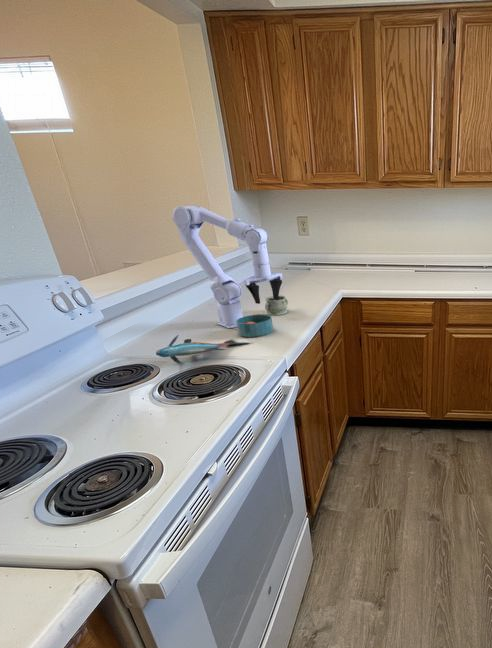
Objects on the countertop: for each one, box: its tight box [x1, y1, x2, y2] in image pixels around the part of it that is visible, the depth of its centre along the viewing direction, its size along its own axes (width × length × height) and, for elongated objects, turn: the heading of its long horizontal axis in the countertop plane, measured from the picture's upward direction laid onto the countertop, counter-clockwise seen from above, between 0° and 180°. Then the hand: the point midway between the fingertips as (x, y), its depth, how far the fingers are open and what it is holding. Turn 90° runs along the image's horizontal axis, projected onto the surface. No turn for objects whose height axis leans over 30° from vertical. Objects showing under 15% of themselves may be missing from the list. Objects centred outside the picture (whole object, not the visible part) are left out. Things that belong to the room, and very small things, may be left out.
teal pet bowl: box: [236, 313, 274, 338], centre depth 150 cm, size 12×12×5 cm
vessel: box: [264, 295, 289, 316], centre depth 173 cm, size 12×9×6 cm
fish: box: [155, 334, 247, 364], centre depth 129 cm, size 30×8×15 cm
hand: (267, 301), depth 154 cm, fingers open, 7 cm apart
